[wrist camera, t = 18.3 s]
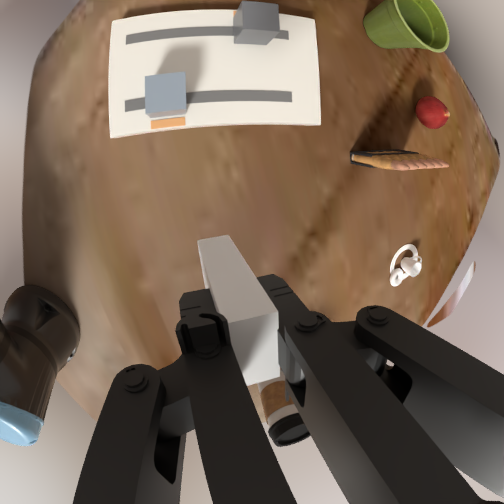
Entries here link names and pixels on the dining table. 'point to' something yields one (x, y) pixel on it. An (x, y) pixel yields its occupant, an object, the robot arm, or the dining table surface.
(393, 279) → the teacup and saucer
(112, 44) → the switch panel
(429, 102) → the onion
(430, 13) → the plant pot
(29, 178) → the dining table surface
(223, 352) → the robot arm
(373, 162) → the ammunition clip
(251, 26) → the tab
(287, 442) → the coffee cup
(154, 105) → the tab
